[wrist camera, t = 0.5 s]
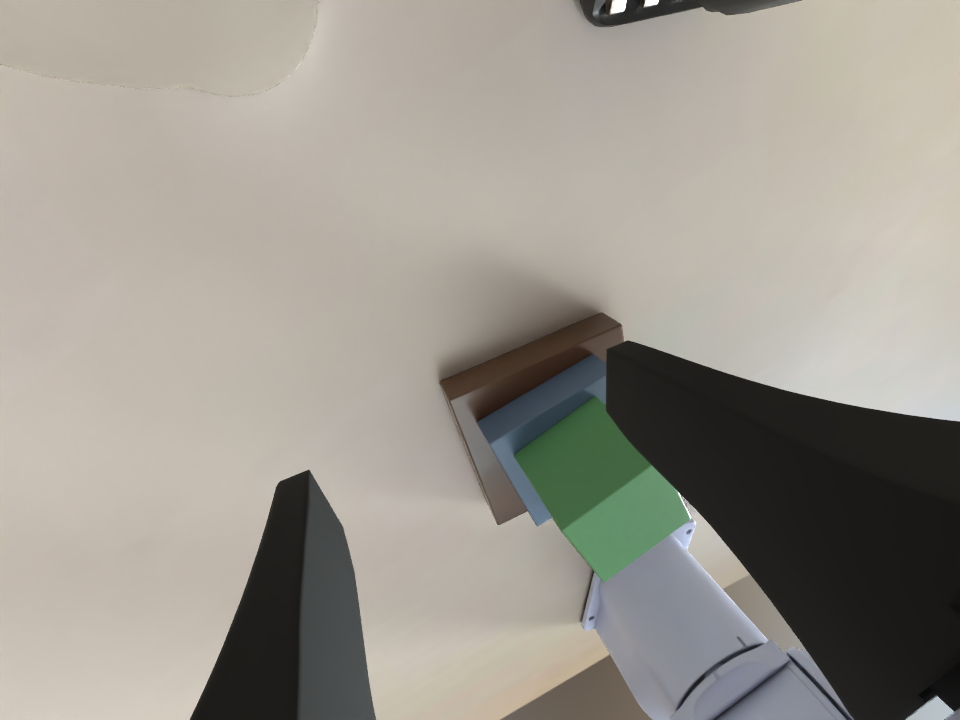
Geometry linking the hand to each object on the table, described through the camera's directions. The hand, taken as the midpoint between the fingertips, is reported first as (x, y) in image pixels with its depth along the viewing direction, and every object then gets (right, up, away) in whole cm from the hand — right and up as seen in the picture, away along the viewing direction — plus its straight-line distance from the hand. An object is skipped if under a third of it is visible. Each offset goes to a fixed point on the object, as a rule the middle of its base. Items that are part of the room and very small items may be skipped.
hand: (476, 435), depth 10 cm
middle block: (+4, -2, +13) cm, 13 cm away
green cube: (+5, -3, +11) cm, 12 cm away
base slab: (+3, -1, +14) cm, 15 cm away
